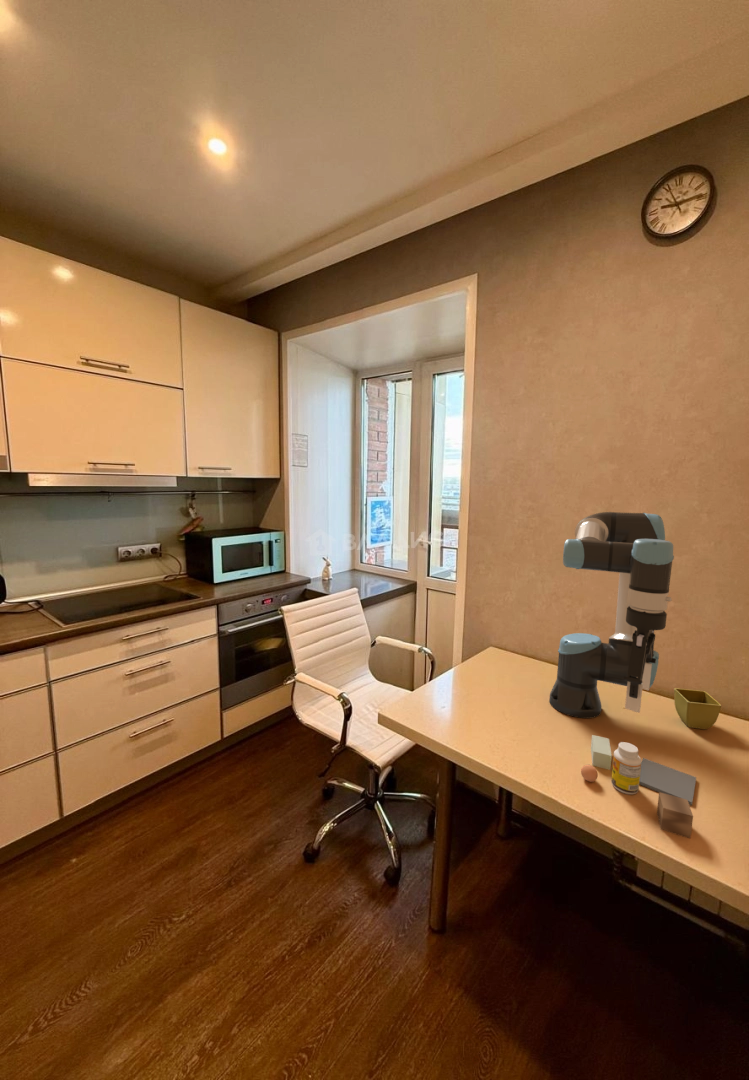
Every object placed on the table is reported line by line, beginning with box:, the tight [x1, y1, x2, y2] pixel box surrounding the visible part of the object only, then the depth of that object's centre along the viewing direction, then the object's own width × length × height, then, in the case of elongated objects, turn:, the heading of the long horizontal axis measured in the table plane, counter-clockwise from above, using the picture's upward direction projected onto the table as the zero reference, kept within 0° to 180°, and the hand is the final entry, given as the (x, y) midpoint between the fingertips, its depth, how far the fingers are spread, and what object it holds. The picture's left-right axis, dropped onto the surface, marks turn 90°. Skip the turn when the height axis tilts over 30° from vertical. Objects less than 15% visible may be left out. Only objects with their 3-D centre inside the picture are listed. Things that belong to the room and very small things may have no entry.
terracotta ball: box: [580, 764, 599, 783], centre depth 101 cm, size 4×4×4 cm
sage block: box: [590, 734, 613, 771], centre depth 109 cm, size 4×8×4 cm, turn 155°
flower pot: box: [673, 687, 722, 730], centre depth 126 cm, size 9×9×9 cm
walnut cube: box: [656, 792, 694, 839], centre depth 88 cm, size 5×5×5 cm
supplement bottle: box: [611, 741, 642, 795], centre depth 98 cm, size 6×6×10 cm
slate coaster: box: [639, 757, 697, 807], centre depth 101 cm, size 11×11×1 cm
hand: (637, 698), depth 96 cm, fingers open, 13 cm apart
